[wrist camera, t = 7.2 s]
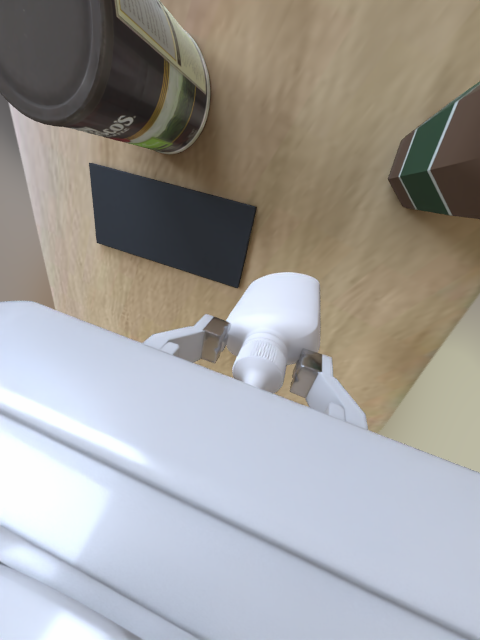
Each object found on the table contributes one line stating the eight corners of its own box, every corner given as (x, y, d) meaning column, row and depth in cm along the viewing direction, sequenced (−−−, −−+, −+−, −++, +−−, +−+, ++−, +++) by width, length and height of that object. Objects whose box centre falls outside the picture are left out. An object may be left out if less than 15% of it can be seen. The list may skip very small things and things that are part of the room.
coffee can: (209, 159, 26) (115, 131, 14) (128, 149, 28) (-13, 118, 16) (215, 20, 21) (79, -200, 9) (116, 20, 23) (-100, -161, 11)
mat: (92, 163, 30) (88, 162, 30) (256, 206, 27) (255, 207, 27) (99, 242, 36) (96, 242, 35) (238, 287, 32) (237, 288, 32)
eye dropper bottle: (302, 326, 21) (288, 455, 11) (244, 298, 21) (178, 400, 11) (329, 283, 19) (343, 397, 9) (263, 253, 19) (201, 330, 9)
